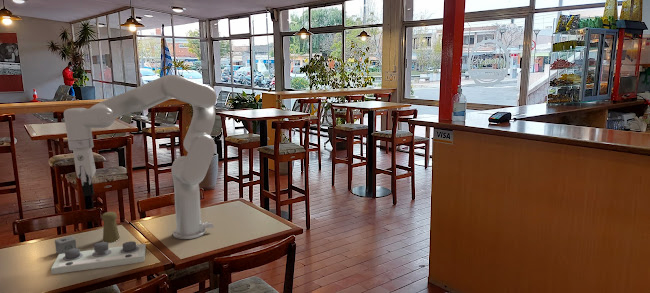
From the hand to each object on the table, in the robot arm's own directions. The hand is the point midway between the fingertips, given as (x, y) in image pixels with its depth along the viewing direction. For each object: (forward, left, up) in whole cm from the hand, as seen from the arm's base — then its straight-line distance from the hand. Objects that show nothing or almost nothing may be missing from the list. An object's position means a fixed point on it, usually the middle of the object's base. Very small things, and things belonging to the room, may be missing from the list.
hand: (88, 194), depth 158 cm
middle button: (-3, +6, -19) cm, 20 cm away
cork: (-4, -12, -22) cm, 26 cm away
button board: (-3, +8, -22) cm, 23 cm away
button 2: (-12, +6, -20) cm, 24 cm away
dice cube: (+10, -4, -22) cm, 25 cm away
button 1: (+6, +6, -20) cm, 21 cm away
